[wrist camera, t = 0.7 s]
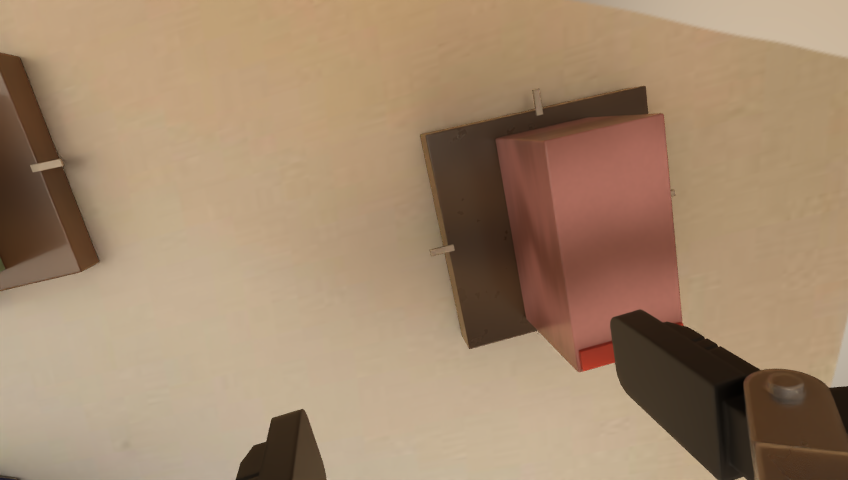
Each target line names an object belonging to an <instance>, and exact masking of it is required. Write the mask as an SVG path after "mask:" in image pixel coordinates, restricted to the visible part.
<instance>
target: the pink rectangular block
mask: <svg viewBox="0 0 848 480" xmlns="http://www.w3.org/2000/svg"><path fill="white" fill-rule="evenodd" d="M495 141H496V146H497V152H498V158H499V164H500V170H501V175H502V181H503V187H504V193H505V199H506V204H507V210H508V216H509V222H510V228H511V233H512V239H513V245H514V251H515V256H516V262H517V268H518V274H519V280H520V285H521V291H522V297H523V303H524V309H525V314H526V319H527V320H528V321H529V322H530V323H531V324H532V325H533V326H534V327H535V328H536V329H537V330H538V331H539V332H540V333H541V334H542V335H543V336H544V337H545V339H546V340H547V341H548V342H549V343H550V344H551V345H552V346H553V347H554V348H555V349H556V350H557V351H558V352H559V353H560V354H561V355H562V356H563V357H564V358H565V359H566V360H567V361H568V362H569V363H570V364H571V365H572V366H573V367H574V368H575V369H576V370H577V371H578V372H583V371H587V370H590V369H594V368H597V367H601V366H604V365H608V364H611V363H615V358H614V350H613V343H612V336H611V329H610V321H611V319H612V318H613V317H615V316H619V315H622V314H625V313H629V312H632V311H636V310H639V309H641V310H644V311H645V312H647V313H649V314H650V315H652V316H653V317H655V318H657V319H658V320H660V321H661V322H671V323H674V324H678V325H682V326H683V323H682V313H681V302H680V291H679V280H678V269H677V257H676V246H675V235H674V224H673V212H672V201H671V190H670V179H669V168H668V156H667V145H666V134H665V123H664V115H663V114H662V113H659V114H641V115H623V116H605V117H587V118H582V119H578V120H573V121H569V122H565V123H560V124H556V125H551V126H547V127H543V128H538V129H534V130H529V131H525V132H521V133H516V134H512V135H507V136H503V137H499V138H496V140H495Z"/></svg>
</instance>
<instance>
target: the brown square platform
mask: <svg viewBox="0 0 848 480" xmlns="http://www.w3.org/2000/svg"><path fill="white" fill-rule="evenodd" d="M532 91H533V97H534V104H535V109H532V110H528V111H523V112H519V113H515V114H510V115H506V116H501V117H497V118H492V119H488V120H483V121H479V122H474V123H470V124H465V125H461V126H456V127H452V128H447V129H443V130H438V131H434V132H429V133H425V134H421V135H420V137H421V142H422V147H423V152H424V156H425V161H426V166H427V171H428V176H429V180H430V185H431V190H432V195H433V199H434V204H435V209H436V214H437V219H438V223H439V228H440V233H441V238H442V243H443V247H439V248H435V249H431V250H430V255H431V256H435V255H439V254H443V253H445V257H446V262H447V266H448V271H449V276H450V281H451V286H452V290H453V295H454V300H455V305H456V310H457V314H458V319H459V324H460V329H461V333H462V337H463V338H464V340H465V342H466V344H467V345H468V347H469V349H472V348H476V347H479V346H483V345H487V344H491V343H494V342H498V341H502V340H505V339H509V338H513V337H516V336H520V335H524V334H527V333H531V332H535V331H538V330H537V329H536V328H535V327H534V326H533V325H532V324H531V323H530V322H529V321H528V320H527V319H526V314H525V309H524V303H523V297H522V291H521V285H520V280H519V274H518V268H517V262H516V256H515V251H514V245H513V239H512V233H511V228H510V222H509V216H508V210H507V204H506V199H505V193H504V187H503V181H502V175H501V170H500V164H499V158H498V152H497V146H496V141H495V140H496V138H499V137H503V136H507V135H512V134H516V133H521V132H525V131H529V130H534V129H538V128H543V127H547V126H551V125H556V124H560V123H565V122H569V121H573V120H578V119H582V118H587V117H605V116H623V115H641V114H648V106H647V96H646V87H645V86H640V87H634V88H627V89H622V90H618V91H613V92H609V93H604V94H600V95H595V96H591V97H586V98H582V99H577V100H573V101H568V102H564V103H559V104H555V105H550V106H546V107H542V103H541V96H540V89H534V90H532ZM671 196H675V190H671Z"/></svg>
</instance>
